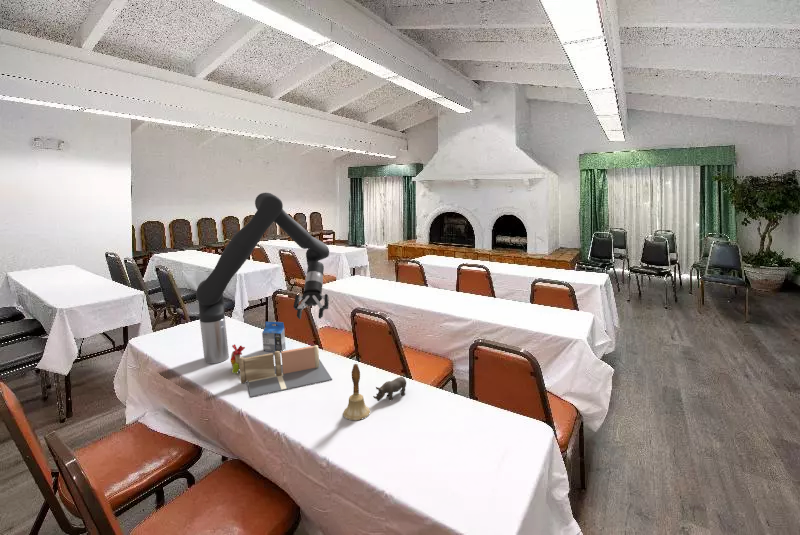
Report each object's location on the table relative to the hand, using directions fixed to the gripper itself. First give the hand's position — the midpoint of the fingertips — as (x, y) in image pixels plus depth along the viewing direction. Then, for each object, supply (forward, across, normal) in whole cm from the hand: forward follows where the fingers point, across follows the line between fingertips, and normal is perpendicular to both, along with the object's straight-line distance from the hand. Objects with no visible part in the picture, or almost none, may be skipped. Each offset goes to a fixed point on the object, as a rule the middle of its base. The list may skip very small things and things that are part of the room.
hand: (309, 318), depth 166 cm
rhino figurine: (+37, +34, -13) cm, 52 cm away
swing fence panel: (+22, 0, -1) cm, 22 cm away
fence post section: (+26, -13, -5) cm, 30 cm away
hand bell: (+43, +25, -20) cm, 54 cm away
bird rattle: (+22, -26, 0) cm, 34 cm away
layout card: (+25, -5, -3) cm, 26 cm away
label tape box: (+8, -18, +15) cm, 25 cm away
